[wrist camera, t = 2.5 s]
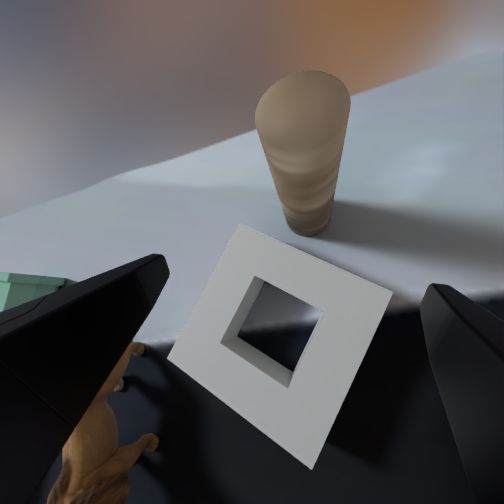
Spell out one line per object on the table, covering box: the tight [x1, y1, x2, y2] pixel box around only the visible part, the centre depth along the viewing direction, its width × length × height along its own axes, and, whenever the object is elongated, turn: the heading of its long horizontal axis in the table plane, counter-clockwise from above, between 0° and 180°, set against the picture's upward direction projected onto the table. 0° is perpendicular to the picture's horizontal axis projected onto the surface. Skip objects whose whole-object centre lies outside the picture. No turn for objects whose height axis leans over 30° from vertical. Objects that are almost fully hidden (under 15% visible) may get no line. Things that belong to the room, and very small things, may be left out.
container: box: [0, 272, 65, 312], centre depth 23 cm, size 6×6×25 cm
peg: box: [255, 71, 351, 237], centre depth 16 cm, size 4×4×12 cm
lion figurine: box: [47, 342, 159, 504], centre depth 18 cm, size 15×5×9 cm, turn 25°
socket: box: [167, 223, 393, 470], centre depth 18 cm, size 12×12×4 cm
